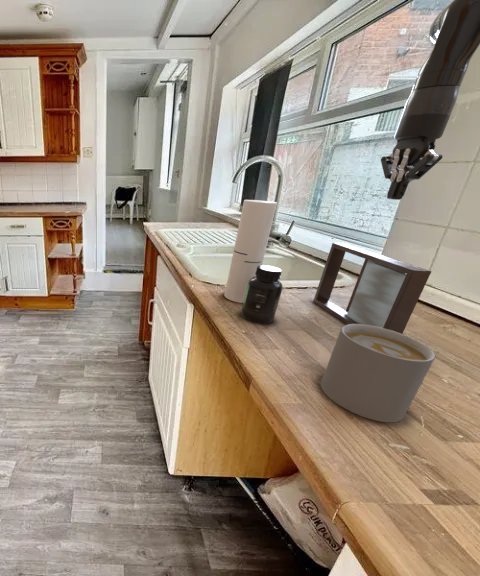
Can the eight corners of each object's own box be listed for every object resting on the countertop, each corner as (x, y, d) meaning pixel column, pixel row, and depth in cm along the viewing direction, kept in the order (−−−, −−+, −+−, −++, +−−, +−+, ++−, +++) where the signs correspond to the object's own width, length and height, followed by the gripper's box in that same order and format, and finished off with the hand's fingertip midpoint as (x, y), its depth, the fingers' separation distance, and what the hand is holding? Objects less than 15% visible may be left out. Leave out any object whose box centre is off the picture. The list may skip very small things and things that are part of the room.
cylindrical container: (230, 290, 87) (250, 199, 77) (257, 298, 82) (281, 202, 73) (219, 296, 82) (239, 200, 73) (247, 305, 77) (271, 203, 68)
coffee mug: (412, 434, 40) (447, 371, 36) (321, 402, 45) (344, 344, 41) (390, 380, 51) (416, 327, 47) (319, 359, 56) (337, 310, 52)
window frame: (312, 301, 81) (332, 242, 76) (325, 302, 81) (345, 243, 75) (379, 346, 61) (413, 270, 55) (396, 347, 61) (431, 271, 55)
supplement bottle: (235, 315, 71) (246, 266, 67) (248, 308, 76) (260, 261, 71) (265, 327, 67) (280, 275, 62) (278, 318, 71) (292, 269, 66)
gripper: (478, 109, 58) (438, 202, 65) (415, 119, 71) (386, 197, 77) (437, 108, 59) (401, 201, 65) (381, 118, 71) (356, 196, 77)
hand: (393, 199), depth 71 cm, fingers closed
